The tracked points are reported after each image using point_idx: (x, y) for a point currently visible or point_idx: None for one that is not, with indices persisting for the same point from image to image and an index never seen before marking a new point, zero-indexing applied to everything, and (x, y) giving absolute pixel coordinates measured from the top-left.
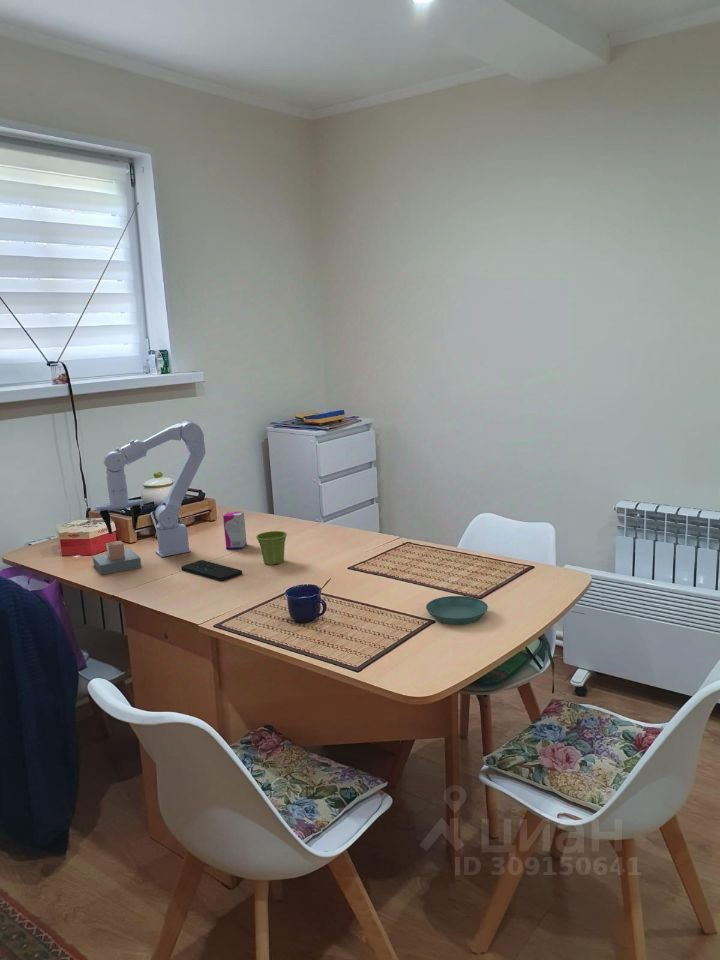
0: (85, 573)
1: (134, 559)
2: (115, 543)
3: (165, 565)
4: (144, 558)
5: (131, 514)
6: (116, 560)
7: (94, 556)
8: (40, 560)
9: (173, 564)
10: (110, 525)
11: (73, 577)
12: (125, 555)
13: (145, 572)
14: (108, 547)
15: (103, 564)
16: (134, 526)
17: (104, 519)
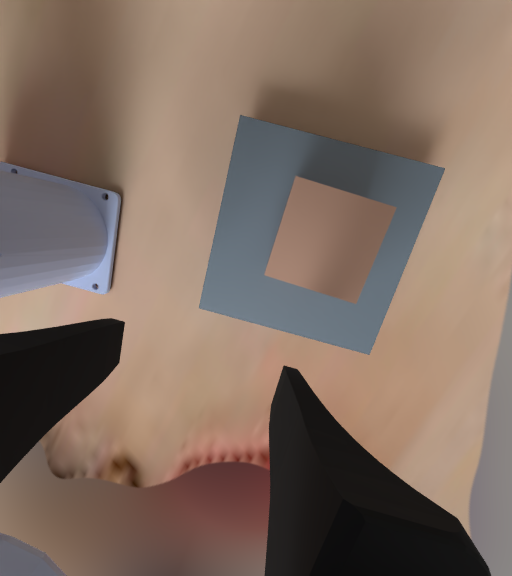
0: (439, 263)
1: (270, 124)
2: (325, 234)
3: (161, 58)
4: (178, 250)
5: (8, 464)
6: (343, 181)
7: (366, 344)
8: None
9: (128, 38)
10: (299, 400)
11: (501, 253)
12: (268, 229)
13: (275, 28)
14: (391, 210)
15: (424, 171)
16: (105, 325)
17: (394, 474)
